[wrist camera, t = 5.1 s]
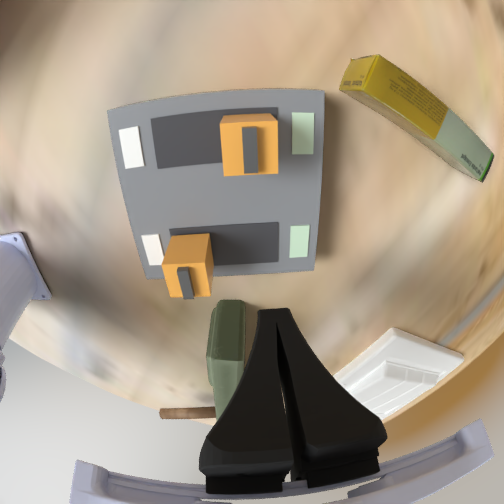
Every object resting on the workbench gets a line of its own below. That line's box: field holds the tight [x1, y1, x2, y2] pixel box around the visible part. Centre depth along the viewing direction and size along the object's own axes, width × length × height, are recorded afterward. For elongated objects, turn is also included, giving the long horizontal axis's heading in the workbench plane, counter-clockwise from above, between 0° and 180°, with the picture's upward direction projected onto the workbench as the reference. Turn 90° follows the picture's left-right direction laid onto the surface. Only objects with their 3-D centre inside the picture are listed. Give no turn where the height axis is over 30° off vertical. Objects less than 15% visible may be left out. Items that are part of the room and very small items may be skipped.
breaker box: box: [107, 88, 324, 279], centre depth 17 cm, size 12×12×3 cm
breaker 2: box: [220, 113, 278, 176], centre depth 13 cm, size 2×2×3 cm
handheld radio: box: [206, 300, 245, 421], centre depth 29 cm, size 7×3×25 cm
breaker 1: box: [161, 233, 214, 299], centre depth 17 cm, size 2×2×3 cm
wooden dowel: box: [159, 407, 216, 419], centre depth 37 cm, size 10×2×2 cm
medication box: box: [339, 54, 494, 183], centre depth 14 cm, size 12×3×4 cm, turn 69°
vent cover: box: [333, 327, 464, 420], centre depth 36 cm, size 23×3×21 cm
